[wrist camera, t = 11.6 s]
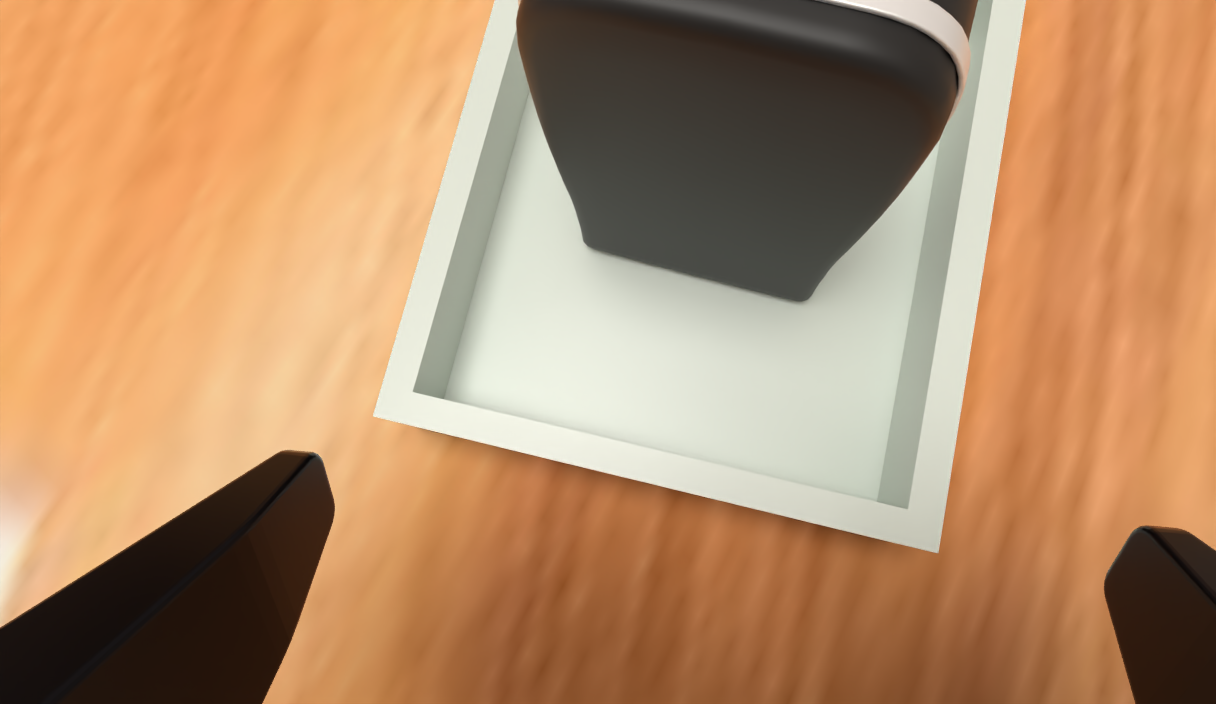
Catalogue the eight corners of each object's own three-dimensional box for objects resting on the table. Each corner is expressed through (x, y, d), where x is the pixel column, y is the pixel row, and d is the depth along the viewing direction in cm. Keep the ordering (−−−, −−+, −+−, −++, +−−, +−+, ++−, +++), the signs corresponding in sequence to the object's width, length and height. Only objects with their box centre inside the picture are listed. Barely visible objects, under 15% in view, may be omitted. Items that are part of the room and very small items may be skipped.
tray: (890, 541, 20) (938, 553, 16) (419, 427, 21) (372, 416, 18) (976, 32, 22) (1033, -51, 19) (550, -38, 24) (531, -126, 20)
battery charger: (846, 185, 21) (1064, -174, 9) (814, 311, 20) (1007, 88, 9) (610, 129, 22) (555, -261, 10) (573, 248, 21) (472, -29, 10)
